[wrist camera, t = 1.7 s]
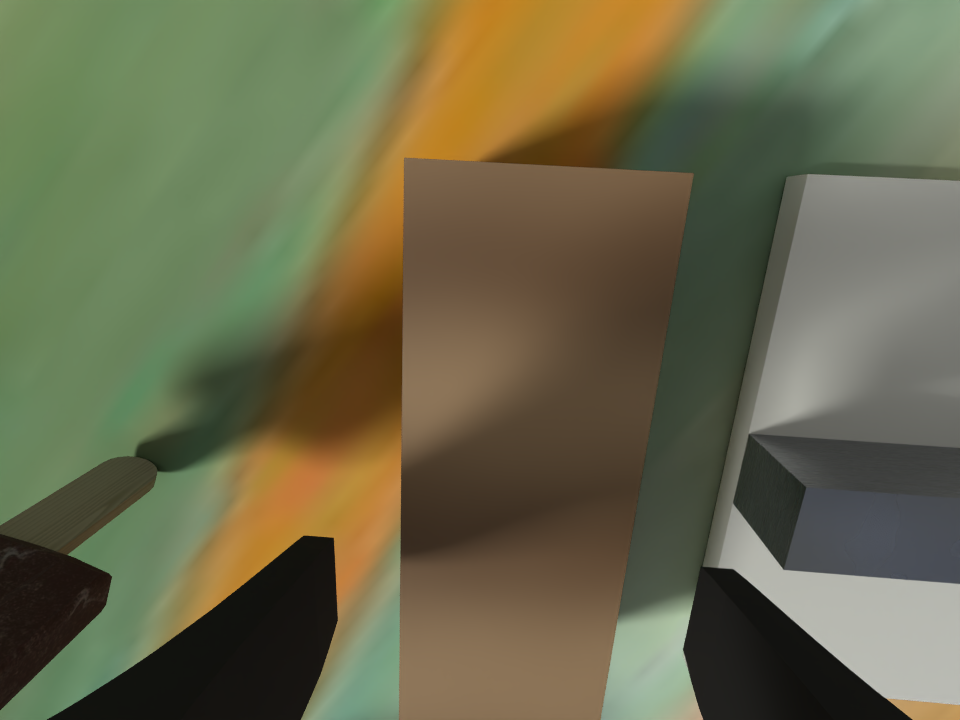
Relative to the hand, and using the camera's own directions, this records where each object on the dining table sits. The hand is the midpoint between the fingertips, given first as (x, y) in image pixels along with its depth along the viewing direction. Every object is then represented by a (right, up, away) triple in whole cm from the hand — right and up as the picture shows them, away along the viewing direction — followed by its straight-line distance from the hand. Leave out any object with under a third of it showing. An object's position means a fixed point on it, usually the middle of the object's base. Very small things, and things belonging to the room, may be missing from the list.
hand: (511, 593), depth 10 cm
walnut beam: (+1, +2, +7) cm, 7 cm away
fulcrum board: (+12, +1, +6) cm, 14 cm away
